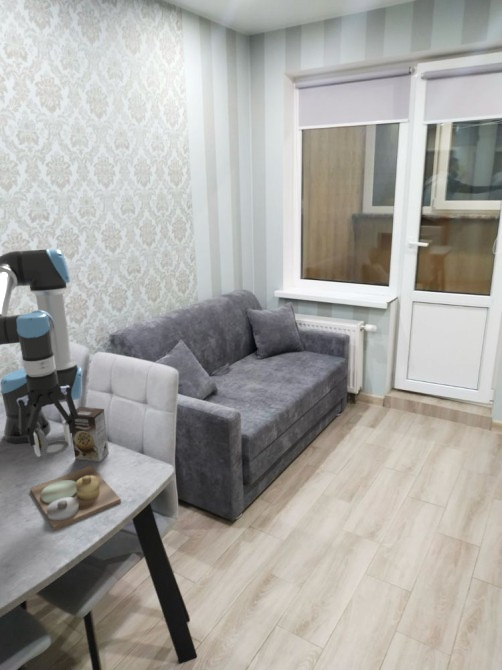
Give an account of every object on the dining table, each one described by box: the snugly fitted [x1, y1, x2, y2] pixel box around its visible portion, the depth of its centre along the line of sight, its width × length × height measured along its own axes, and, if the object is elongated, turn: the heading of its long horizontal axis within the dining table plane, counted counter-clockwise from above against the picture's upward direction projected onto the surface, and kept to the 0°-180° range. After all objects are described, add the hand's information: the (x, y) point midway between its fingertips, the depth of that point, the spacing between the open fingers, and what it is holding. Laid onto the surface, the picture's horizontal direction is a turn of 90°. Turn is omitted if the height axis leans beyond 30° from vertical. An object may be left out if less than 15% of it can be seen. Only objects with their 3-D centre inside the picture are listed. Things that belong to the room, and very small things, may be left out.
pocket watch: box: [34, 422, 69, 455], centre depth 129 cm, size 8×8×10 cm
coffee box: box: [68, 406, 110, 463], centre depth 153 cm, size 9×6×16 cm
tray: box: [30, 465, 122, 531], centre depth 134 cm, size 22×18×6 cm
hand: (53, 449), depth 131 cm, fingers closed on pocket watch, 8 cm apart
